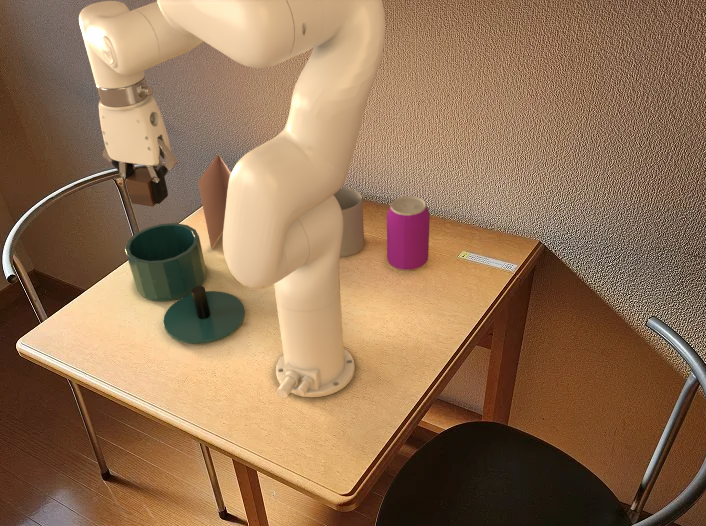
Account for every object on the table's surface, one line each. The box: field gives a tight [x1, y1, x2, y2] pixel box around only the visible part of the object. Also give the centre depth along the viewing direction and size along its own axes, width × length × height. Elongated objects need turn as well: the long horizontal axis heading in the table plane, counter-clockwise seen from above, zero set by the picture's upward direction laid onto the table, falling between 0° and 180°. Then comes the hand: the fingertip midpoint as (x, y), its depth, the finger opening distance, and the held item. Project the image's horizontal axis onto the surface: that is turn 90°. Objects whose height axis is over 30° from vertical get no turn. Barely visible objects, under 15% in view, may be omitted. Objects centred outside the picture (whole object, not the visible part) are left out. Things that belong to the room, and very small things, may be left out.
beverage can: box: [386, 195, 431, 272], centre depth 134 cm, size 8×8×12 cm
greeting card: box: [197, 153, 232, 251], centre depth 146 cm, size 11×7×15 cm, turn 164°
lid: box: [162, 285, 246, 345], centre depth 129 cm, size 15×15×7 cm
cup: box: [334, 187, 365, 257], centre depth 141 cm, size 8×8×10 cm
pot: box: [124, 222, 207, 302], centre depth 139 cm, size 14×14×8 cm
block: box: [125, 167, 158, 208], centre depth 124 cm, size 4×4×4 cm
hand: (149, 196), depth 126 cm, fingers closed on block, 4 cm apart
